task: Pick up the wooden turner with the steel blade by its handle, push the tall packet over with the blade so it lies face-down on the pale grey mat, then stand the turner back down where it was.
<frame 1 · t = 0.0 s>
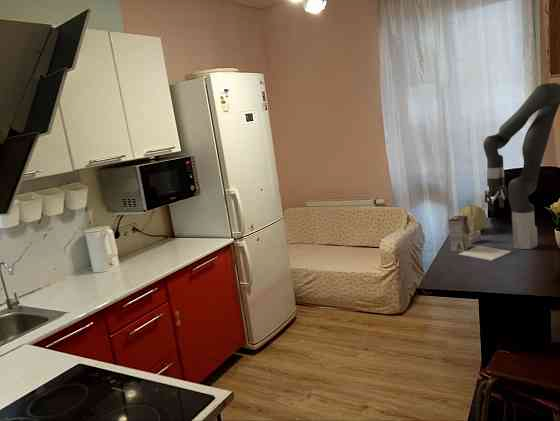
hand: (496, 209, 223), 17 cm above the table, tool pointing down, fingers open, 8 cm apart
mat: (484, 253, 213), on the table
cantaloupe: (473, 232, 252), on the table
turner: (474, 241, 234), on the table
coffee box: (460, 249, 225), on the table
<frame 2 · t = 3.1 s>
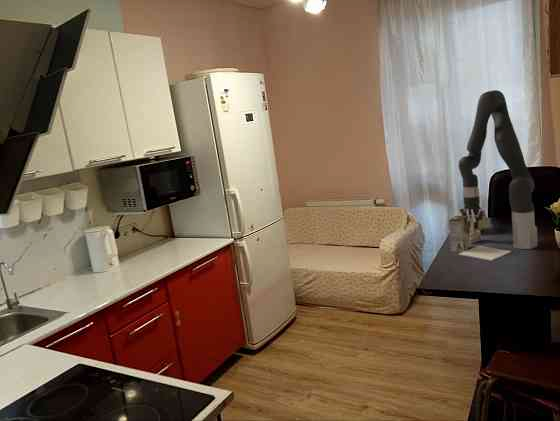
hand: (473, 228, 232), 7 cm above the table, tool pointing down, fingers closed on turner, 2 cm apart
turner: (474, 241, 234), on the table, touching gripper
everything else where it was.
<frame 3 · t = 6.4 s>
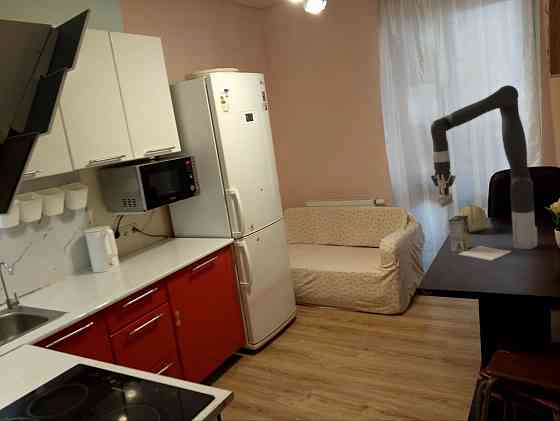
hand: (444, 194, 226), 27 cm above the table, tool pointing down, fingers closed on turner
turner: (446, 204, 227), point 22 cm above the table, tilted 8°, touching gripper
everything else where it was.
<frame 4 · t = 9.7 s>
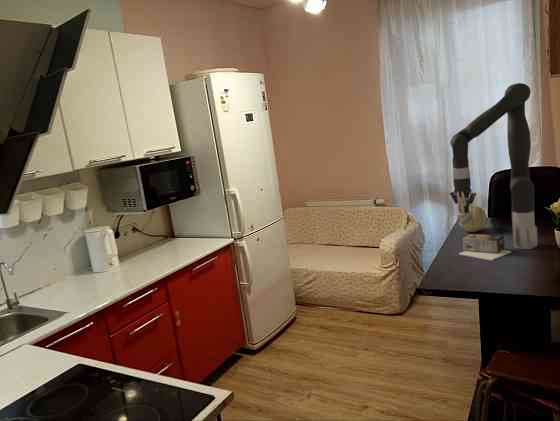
hand: (464, 212, 218), 19 cm above the table, tool pointing down, fingers closed on turner
turner: (466, 222, 220), point 14 cm above the table, tilted 9°, touching gripper
coffee box: (466, 242, 222), point 4 cm above the table, touching mat
everything else where it was.
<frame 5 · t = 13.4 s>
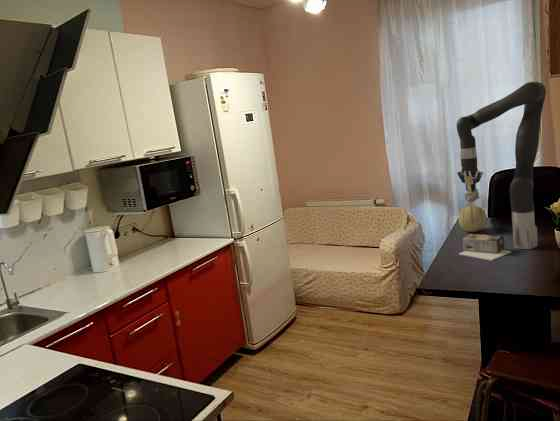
hand: (471, 191, 229), 26 cm above the table, tool pointing down, fingers closed on turner
turner: (472, 200, 230), point 21 cm above the table, tilted 8°, touching gripper
everything else where it was.
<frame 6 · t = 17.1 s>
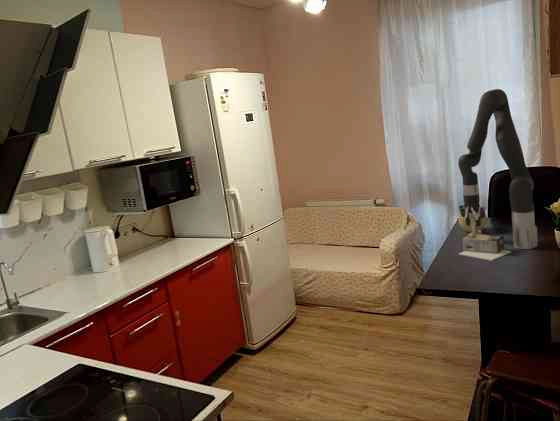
hand: (473, 225, 232), 8 cm above the table, tool pointing down, fingers open, 5 cm apart
turner: (475, 241, 234), on the table
everything else where it was.
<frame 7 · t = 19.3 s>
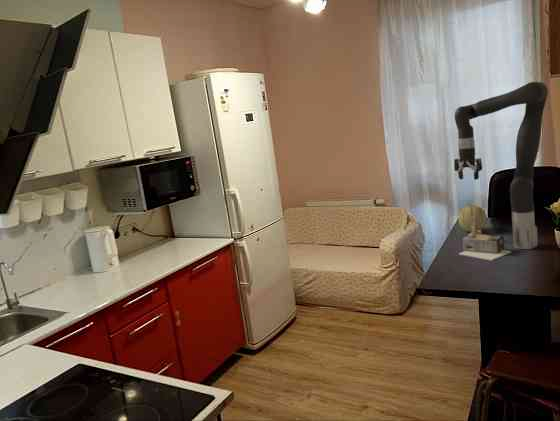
hand: (468, 179, 228), 32 cm above the table, tool pointing down, fingers open, 8 cm apart
nothing on the table moved.
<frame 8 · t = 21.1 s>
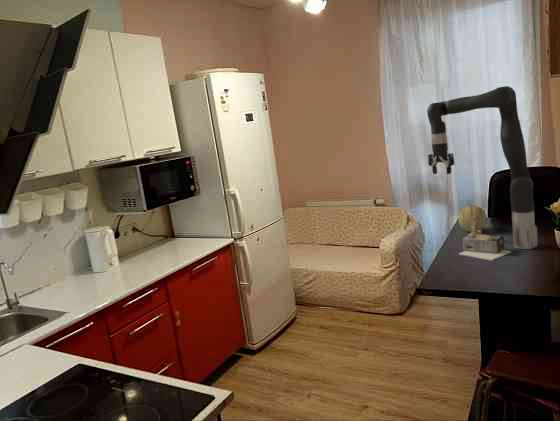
hand: (441, 173, 234), 36 cm above the table, tool pointing down, fingers open, 8 cm apart
nothing on the table moved.
at the end: coffee box tilted 90°; coffee box touching mat; turner inside the target area (0.7 cm from its centre), on the table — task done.
